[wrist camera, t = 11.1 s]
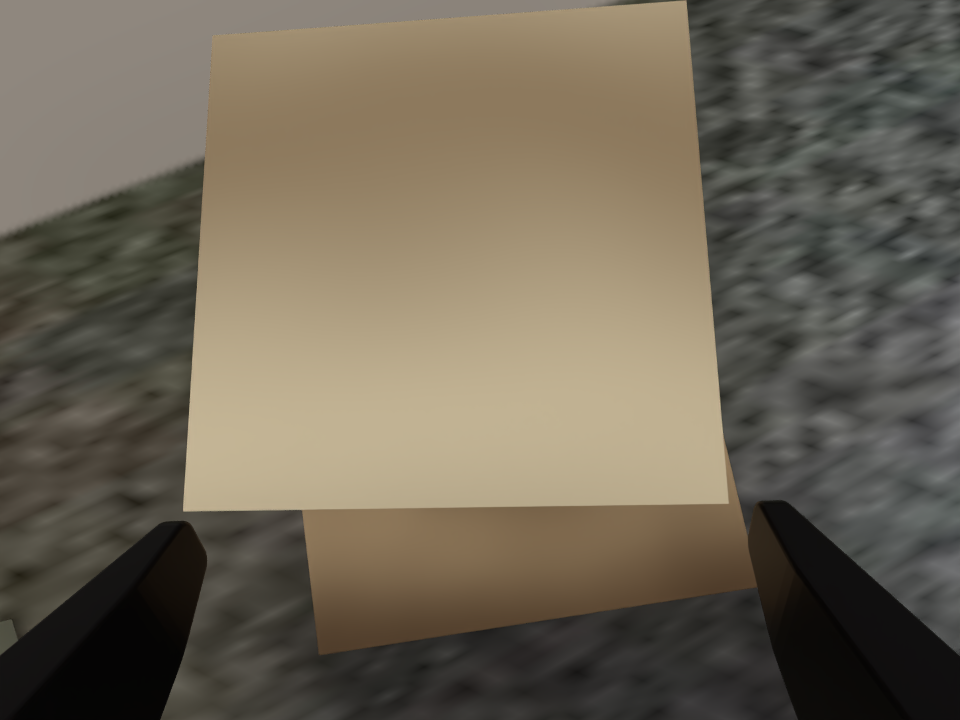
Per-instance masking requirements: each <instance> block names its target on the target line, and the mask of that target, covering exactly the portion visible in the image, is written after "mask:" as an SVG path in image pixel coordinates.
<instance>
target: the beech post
mask: <svg viewBox="0 0 960 720" xmlns="http://www.w3.org/2000/svg"><path fill="white" fill-rule="evenodd" d="M206 136H207V137H206V151H205V167H204V183H203V199H202V215H201V232H200V248H199V264H198V280H197V296H196V312H195V328H194V344H193V360H192V376H191V392H190V409H189V425H188V441H187V457H186V473H185V489H184V505H183V511H242V510H315V509H387V508H459V507H532V506H604V505H676V504H729V500H728V489H727V477H726V465H725V453H724V441H723V429H722V418H721V406H720V394H719V382H718V370H717V358H716V347H715V335H714V323H713V311H712V299H711V287H710V276H709V264H708V252H707V240H706V228H705V217H704V205H703V193H702V181H701V169H700V157H699V146H698V134H697V122H696V110H695V98H694V86H693V75H692V63H691V51H690V39H689V27H688V15H687V4H686V1H674V2H660V3H647V4H633V5H620V6H606V7H592V8H579V9H565V10H552V11H538V12H525V13H512V14H498V15H485V16H471V17H458V18H444V19H430V20H416V21H404V22H389V23H376V24H362V25H349V26H335V27H322V28H309V29H295V30H281V31H268V32H254V33H240V34H227V35H214V36H213V39H212V55H211V71H210V87H209V104H208V119H207V135H206Z"/></svg>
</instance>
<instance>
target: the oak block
mask: <svg viewBox="0 0 960 720" xmlns="http://www.w3.org/2000/svg"><path fill="white" fill-rule="evenodd" d="M723 441H724V453H725V465H726V477H727V489H728V500H729V504H676V505H604V506H532V507H459V508H387V509H315V510H302V512H303V521H304V530H305V538H306V547H307V556H308V564H309V573H310V582H311V590H312V599H313V608H314V616H315V625H316V633H317V642H318V651H319V655H324V654H330V653H337V652H343V651H350V650H356V649H363V648H369V647H375V646H382V645H388V644H395V643H401V642H408V641H414V640H421V639H427V638H434V637H440V636H446V635H453V634H459V633H466V632H472V631H479V630H485V629H492V628H498V627H504V626H511V625H517V624H524V623H530V622H537V621H543V620H550V619H556V618H562V617H569V616H575V615H582V614H588V613H595V612H601V611H608V610H614V609H620V608H627V607H633V606H640V605H646V604H653V603H659V602H666V601H672V600H679V599H685V598H691V597H698V596H704V595H711V594H717V593H724V592H730V591H737V590H743V589H749V588H756V587H757V583H756V579H755V575H754V571H753V566H752V562H751V558H750V554H749V549H748V536H747V532H746V528H745V524H744V519H743V515H742V511H741V507H740V503H739V499H738V494H737V490H736V486H735V482H734V478H733V473H732V469H731V465H730V461H729V457H728V453H727V448H726V444H725V440H724V436H723Z"/></svg>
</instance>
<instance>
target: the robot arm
mask: <svg viewBox="0 0 960 720" xmlns="http://www.w3.org/2000/svg"><path fill="white" fill-rule="evenodd" d="M748 549H749V554H750V558H751V562H752V566H753V571H754V575H755V579H756V583H757V587H758V591H759V596H760V600H761V604H762V608H763V612H764V616H765V621H766V625H767V629H768V633H769V637H770V641H771V644H772V648H773V651H774V654H775V657H776V660H777V663H778V666H779V669H780V672H781V675H782V677H783V680H784V683H785V686H786V688H787V691H788V694H789V697H790V699H791V702H792V705H793V708H794V710H795V713H796V716H797V719H798V720H960V656H959V655H958V654H957V653H956V652H955V651H954V650H953V649H951V648H950V647H949V646H948V645H947V644H946V643H945V642H944V641H942V640H941V639H940V638H939V637H938V636H937V635H936V634H935V633H934V632H932V631H931V630H930V629H929V628H928V627H927V626H926V625H925V624H923V623H922V622H921V621H920V620H919V619H918V618H917V617H916V616H915V615H913V614H912V613H911V612H910V611H909V610H908V609H907V608H906V607H904V606H903V605H902V604H901V603H900V602H899V601H898V600H897V599H895V598H894V597H893V596H892V595H891V594H890V593H889V592H888V591H887V590H885V589H884V588H883V587H882V586H881V585H880V584H879V583H878V582H876V581H875V580H874V579H873V578H872V577H871V576H870V575H869V574H868V573H866V572H865V571H864V570H863V569H862V568H861V567H860V566H859V565H857V564H856V563H855V562H854V561H853V560H852V559H851V558H850V557H848V556H847V555H846V554H845V553H844V552H843V551H842V550H841V549H840V548H838V547H837V546H836V545H835V544H834V543H833V542H832V541H831V540H829V539H828V538H827V537H826V536H825V535H824V534H823V533H822V532H821V531H819V530H818V529H817V528H816V527H815V526H814V525H813V524H812V523H810V522H809V521H808V520H807V519H806V518H805V517H804V516H803V515H801V514H800V513H799V512H798V511H797V510H796V509H795V508H794V507H793V506H791V505H790V504H789V503H787V502H785V501H782V500H773V501H759V502H757V503H756V505H755V507H754V510H753V515H752V520H751V525H750V529H749V534H748ZM206 567H207V555H206V551H205V549H204V547H203V545H202V543H201V542H200V540H199V538H198V536H197V534H196V532H195V531H194V529H193V527H192V525H191V524H190V523H188V522H187V521H168V522H163V523H161V524H159V525H158V526H156V527H155V528H154V529H153V530H151V531H150V532H149V533H148V534H146V535H145V536H144V537H143V538H142V539H140V540H139V541H138V542H137V543H136V544H134V545H133V546H132V547H131V548H130V549H128V550H127V551H126V552H125V553H123V554H122V555H121V556H120V557H119V558H117V559H116V560H115V561H114V562H113V563H111V564H110V565H109V566H108V567H106V568H105V569H104V570H103V571H102V572H100V573H99V574H98V575H97V576H96V577H94V578H93V579H92V580H91V581H89V582H88V583H87V584H86V585H85V586H83V587H82V588H81V589H80V590H79V591H77V592H76V593H75V594H74V595H72V596H71V597H70V598H69V599H68V600H66V601H65V602H64V603H63V604H62V605H60V606H59V607H58V608H57V609H56V610H54V611H53V612H52V613H51V614H49V615H48V616H47V617H46V618H45V619H43V620H42V621H41V622H40V623H39V624H37V625H36V626H35V627H34V628H32V629H31V630H30V631H29V632H28V633H26V634H25V635H24V636H23V637H22V638H20V639H19V640H18V641H17V642H15V643H14V644H13V645H12V646H11V647H9V648H8V649H7V650H6V651H5V652H3V653H2V654H1V655H0V720H160V719H161V716H162V713H163V711H164V708H165V705H166V703H167V700H168V697H169V694H170V692H171V689H172V686H173V684H174V681H175V678H176V675H177V673H178V670H179V667H180V664H181V661H182V658H183V655H184V652H185V648H186V645H187V641H188V637H189V634H190V630H191V626H192V622H193V618H194V614H195V610H196V606H197V602H198V598H199V595H200V591H201V587H202V583H203V579H204V575H205V571H206Z"/></svg>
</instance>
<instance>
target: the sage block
mask: <svg viewBox="0 0 960 720" xmlns="http://www.w3.org/2000/svg"><path fill="white" fill-rule="evenodd" d="M17 641H18V639H17V635H16V632H15V629H14V625H13V622H12V619H10V620H6V621H3V622H0V655H1V654H2V653H3V652H5V651H6V650H7V649H8V648H9V647H11V646H12V645H13V644H14V643H15V642H17Z"/></svg>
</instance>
